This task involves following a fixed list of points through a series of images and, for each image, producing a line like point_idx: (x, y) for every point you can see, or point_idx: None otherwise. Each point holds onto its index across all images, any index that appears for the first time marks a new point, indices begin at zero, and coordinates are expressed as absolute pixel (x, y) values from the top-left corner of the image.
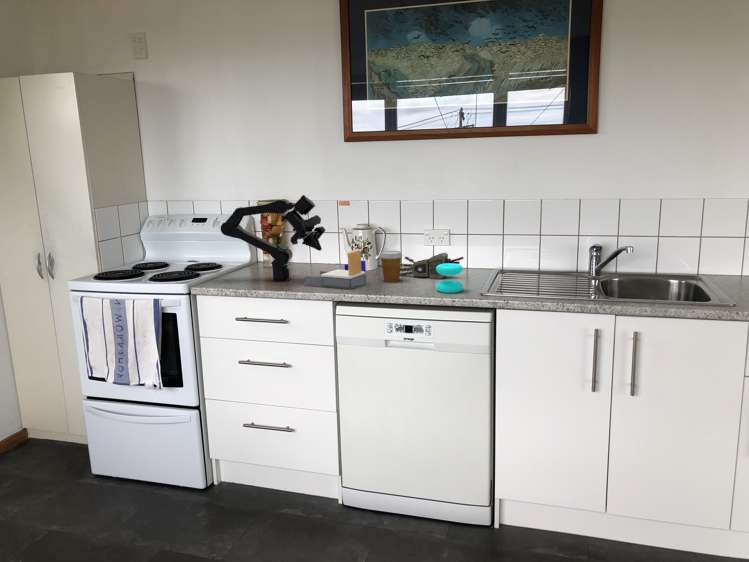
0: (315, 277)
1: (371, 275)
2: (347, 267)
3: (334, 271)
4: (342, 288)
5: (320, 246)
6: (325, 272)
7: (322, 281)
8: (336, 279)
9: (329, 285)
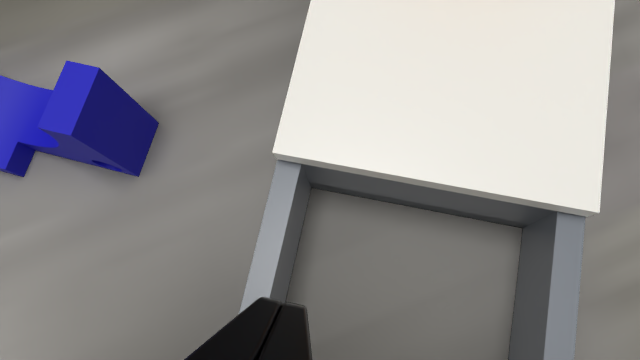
0: (576, 287)
1: (36, 15)
2: (100, 112)
3: (388, 132)
4: None
5: (238, 335)
6: (272, 291)
7: None
8: None
9: None
